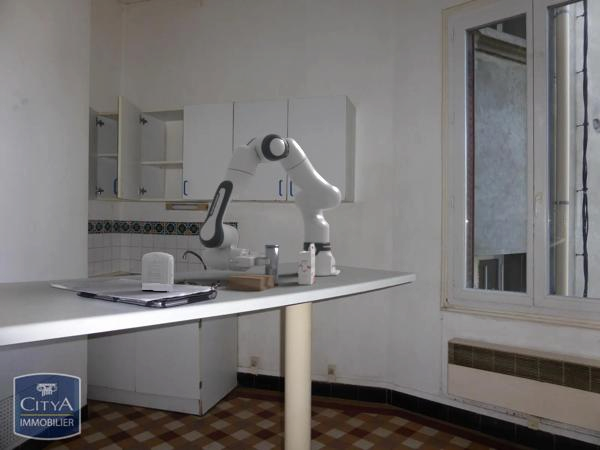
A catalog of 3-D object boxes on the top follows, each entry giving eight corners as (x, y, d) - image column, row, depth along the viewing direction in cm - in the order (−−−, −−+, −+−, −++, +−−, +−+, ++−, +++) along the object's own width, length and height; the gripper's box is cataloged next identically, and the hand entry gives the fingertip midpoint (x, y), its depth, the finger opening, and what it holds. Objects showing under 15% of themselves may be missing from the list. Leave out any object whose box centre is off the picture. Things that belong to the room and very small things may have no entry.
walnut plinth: (243, 285, 152) (243, 273, 152) (273, 287, 148) (273, 275, 148) (228, 288, 143) (228, 276, 143) (260, 291, 138) (260, 278, 138)
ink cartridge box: (302, 281, 164) (302, 243, 164) (315, 282, 163) (315, 243, 164) (297, 284, 156) (298, 243, 156) (311, 285, 155) (311, 244, 155)
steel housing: (268, 281, 163) (268, 244, 163) (280, 282, 161) (281, 245, 161) (262, 283, 158) (262, 245, 158) (274, 284, 156) (275, 245, 156)
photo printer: (175, 290, 137) (176, 252, 137) (168, 292, 133) (169, 252, 133) (146, 289, 139) (146, 251, 139) (138, 291, 135) (139, 252, 135)
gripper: (226, 253, 155) (261, 254, 150) (253, 250, 174) (285, 251, 169) (226, 270, 155) (260, 272, 150) (253, 266, 174) (284, 267, 169)
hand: (273, 261), depth 159 cm, fingers closed on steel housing, 5 cm apart
